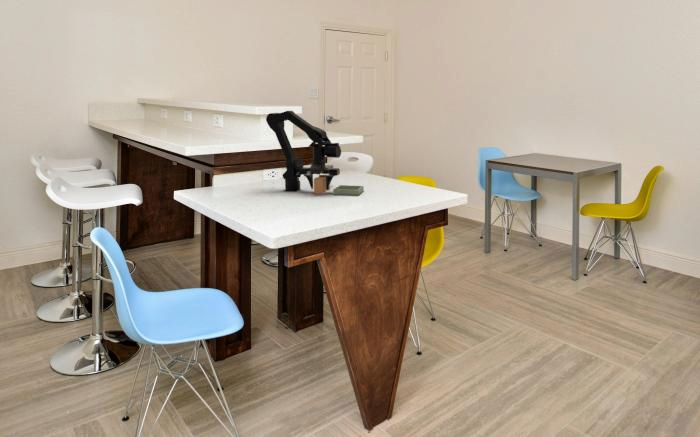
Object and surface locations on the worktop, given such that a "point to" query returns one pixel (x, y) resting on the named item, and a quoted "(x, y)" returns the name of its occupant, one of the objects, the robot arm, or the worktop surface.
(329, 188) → the wood grain block
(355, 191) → the tray
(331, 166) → the dark gray block
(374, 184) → the worktop surface
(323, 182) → the orange brown block
